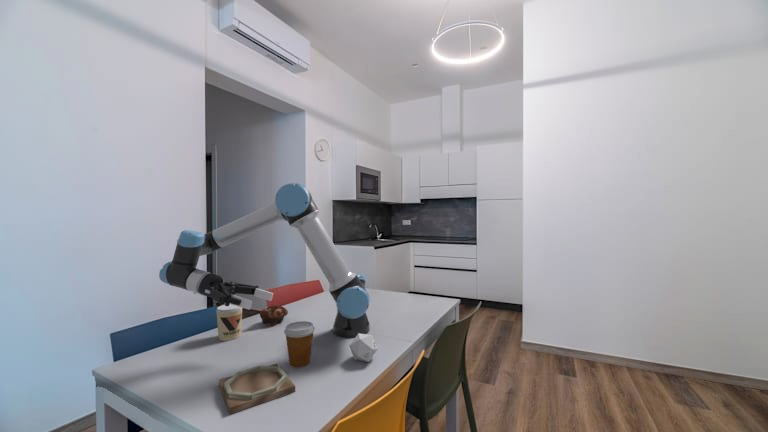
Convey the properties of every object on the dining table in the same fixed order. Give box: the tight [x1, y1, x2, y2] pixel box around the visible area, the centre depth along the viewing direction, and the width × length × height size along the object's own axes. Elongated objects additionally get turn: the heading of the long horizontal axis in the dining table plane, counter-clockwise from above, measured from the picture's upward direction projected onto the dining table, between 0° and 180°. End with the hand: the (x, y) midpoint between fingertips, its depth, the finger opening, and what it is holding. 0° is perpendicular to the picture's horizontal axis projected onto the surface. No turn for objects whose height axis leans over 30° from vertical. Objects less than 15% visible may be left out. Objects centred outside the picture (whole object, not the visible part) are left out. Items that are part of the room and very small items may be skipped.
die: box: [348, 333, 378, 363], centre depth 101 cm, size 8×9×10 cm
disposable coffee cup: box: [283, 320, 316, 368], centre depth 98 cm, size 10×10×12 cm
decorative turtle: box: [259, 305, 289, 326], centre depth 137 cm, size 10×15×8 cm, turn 158°
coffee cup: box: [215, 303, 244, 342], centre depth 121 cm, size 9×9×12 cm
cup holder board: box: [218, 363, 296, 415], centre depth 84 cm, size 16×16×2 cm
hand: (262, 301), depth 102 cm, fingers open, 13 cm apart
